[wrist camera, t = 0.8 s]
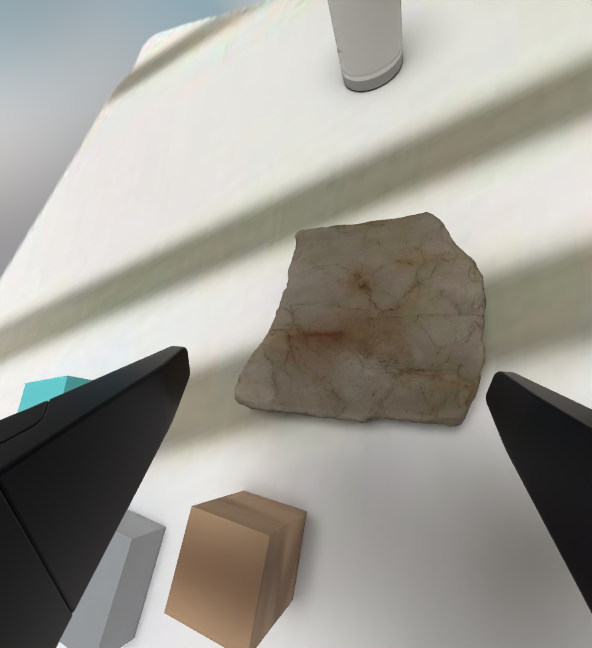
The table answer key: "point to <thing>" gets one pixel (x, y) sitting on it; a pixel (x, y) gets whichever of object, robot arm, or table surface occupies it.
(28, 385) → the teal cube
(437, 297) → the marble piece
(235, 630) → the walnut cube
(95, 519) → the robot arm
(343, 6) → the travel mug
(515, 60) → the table surface
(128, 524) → the grey slab
